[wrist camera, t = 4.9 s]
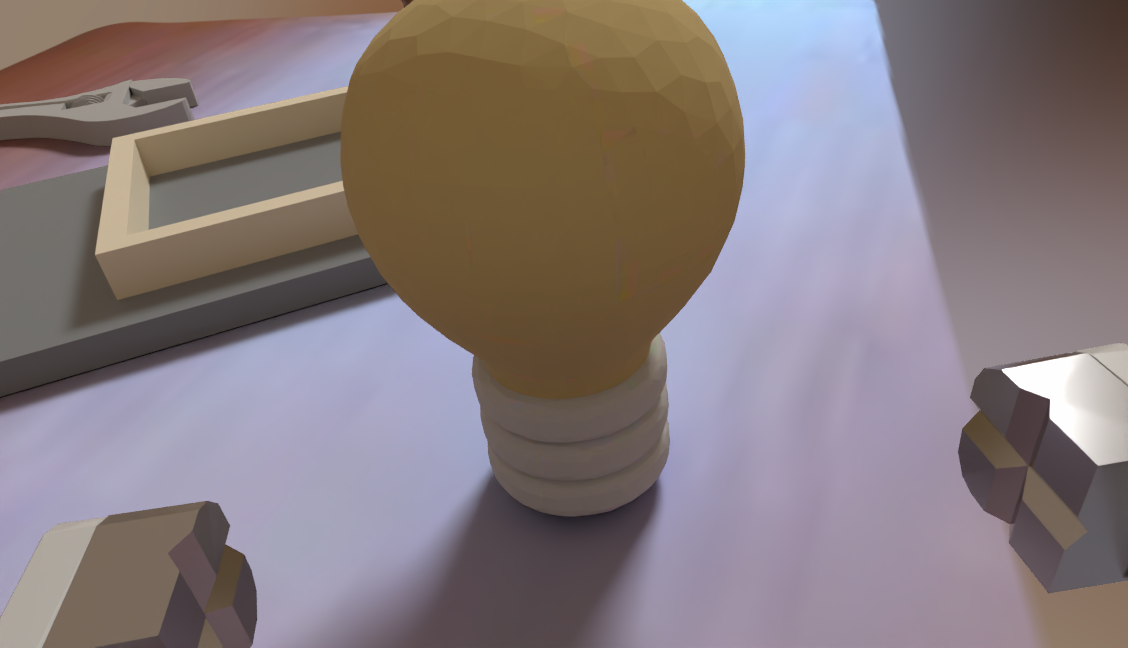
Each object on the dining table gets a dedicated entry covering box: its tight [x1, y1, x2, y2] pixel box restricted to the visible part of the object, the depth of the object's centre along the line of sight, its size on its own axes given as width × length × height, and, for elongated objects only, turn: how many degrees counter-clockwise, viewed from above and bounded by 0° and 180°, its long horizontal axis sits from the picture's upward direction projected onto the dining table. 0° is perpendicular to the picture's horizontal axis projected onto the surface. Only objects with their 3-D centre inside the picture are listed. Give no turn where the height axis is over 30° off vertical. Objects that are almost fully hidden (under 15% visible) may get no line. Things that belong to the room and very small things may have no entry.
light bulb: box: [340, 0, 745, 517], centre depth 14 cm, size 6×6×10 cm
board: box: [0, 86, 387, 397], centre depth 28 cm, size 20×14×2 cm
